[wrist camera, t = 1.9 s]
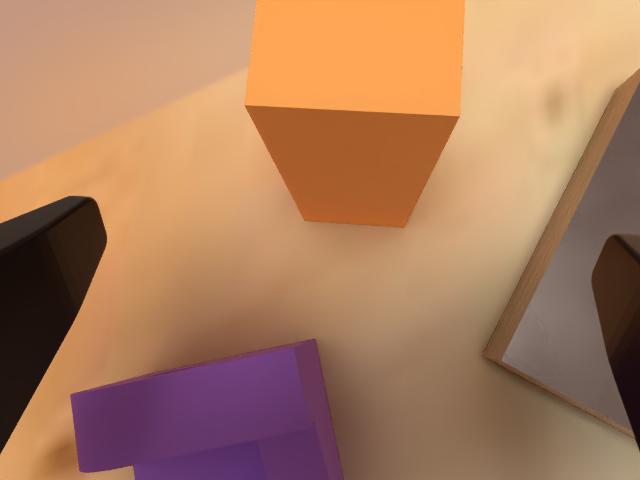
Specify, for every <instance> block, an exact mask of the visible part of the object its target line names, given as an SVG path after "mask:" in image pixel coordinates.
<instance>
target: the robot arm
mask: <svg viewBox="0 0 640 480" xmlns="http://www.w3.org/2000/svg"><path fill="white" fill-rule="evenodd" d="M106 244H107V234H106V230H105V227H104V224H103V220H102V217H101V214H100V210H99V207H98V204H97V202H96V201H95V200H94V199H93V198H91V197H85V196H68V197H65V198H63V199H60V200H58V201H55V202H53V203H50V204H48V205H45V206H43V207H40V208H38V209H35V210H33V211H30V212H28V213H25V214H23V215H20V216H18V217H15V218H13V219H10V220H8V221H5V222H3V223H0V454H1V452H2V450H3V448H4V447H5V445H6V443H7V441H8V439H9V438H10V436H11V434H12V432H13V430H14V429H15V427H16V425H17V423H18V421H19V420H20V418H21V416H22V414H23V412H24V411H25V409H26V407H27V405H28V403H29V402H30V400H31V398H32V396H33V394H34V393H35V391H36V389H37V387H38V385H39V384H40V382H41V380H42V378H43V376H44V374H45V373H46V371H47V369H48V367H49V365H50V364H51V362H52V360H53V358H54V356H55V355H56V353H57V351H58V349H59V347H60V346H61V344H62V342H63V340H64V338H65V337H66V335H67V333H68V331H69V329H70V328H71V326H72V324H73V322H74V320H75V318H76V316H77V314H78V312H79V310H80V308H81V306H82V303H83V301H84V299H85V296H86V294H87V291H88V289H89V286H90V284H91V282H92V279H93V277H94V274H95V272H96V270H97V267H98V265H99V262H100V260H101V257H102V255H103V253H104V250H105V248H106ZM591 285H592V290H593V295H594V299H595V304H596V308H597V313H598V318H599V322H600V327H601V331H602V336H603V341H604V345H605V350H606V354H607V358H608V362H609V365H610V368H611V371H612V374H613V377H614V380H615V383H616V385H617V388H618V391H619V394H620V397H621V400H622V402H623V405H624V408H625V411H626V414H627V417H628V420H629V422H630V425H631V428H632V431H633V434H634V437H635V439H636V442H637V445H638V448H639V451H640V236H639V235H633V234H618V233H615V234H612V235H610V236H609V237H608V238H607V239H606V241H605V243H604V246H603V248H602V250H601V252H600V255H599V257H598V259H597V262H596V264H595V266H594V269H593V271H592V276H591Z"/></svg>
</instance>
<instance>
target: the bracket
mask: <svg viewBox="0 0 640 480" xmlns="http://www.w3.org/2000/svg"><path fill="white" fill-rule="evenodd" d="M71 403H72V412H73V420H74V429H75V437H76V445H77V454H78V462H79V470H80V471H81V472H85V473H89V472H100V471H106V470H112V469H117V468H122V467H127V466H131V465H133V467H134V475H135V480H344V478H343V473H342V468H341V463H340V458H339V453H338V448H337V444H336V439H335V434H334V429H333V424H332V419H331V414H330V409H329V404H328V399H327V395H326V390H325V385H324V380H323V375H322V370H321V365H320V360H319V355H318V351H317V346H316V341H315V339H311V340H307V341H302V342H297V343H293V344H288V345H283V346H278V347H274V348H269V349H264V350H260V351H255V352H250V353H246V354H241V355H236V356H231V357H227V358H222V359H217V360H213V361H208V362H203V363H199V364H194V365H189V366H184V367H180V368H175V369H170V370H166V371H161V372H156V373H152V374H147V375H143V376H139V377H135V378H131V379H127V380H124V381H120V382H116V383H112V384H108V385H104V386H100V387H97V388H93V389H89V390H85V391H81V392H77V393H74V394H71Z"/></svg>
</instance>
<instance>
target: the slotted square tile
mask: <svg viewBox="0 0 640 480" xmlns="http://www.w3.org/2000/svg"><path fill="white" fill-rule="evenodd" d="M615 233H618V234H633V235H639V236H640V69H639V70H637V71H636V72H635V73H634V74H633V75H632V76H631V77H630V78H628V79H627V80H626V81H625V82H624V83H623V84H622V85H621V86H619V87H618V88H617V89H616V90H615V92H614V94H613V96H612V98H611V100H610V102H609V104H608V106H607V108H606V110H605V112H604V114H603V116H602V118H601V120H600V122H599V124H598V126H597V128H596V130H595V132H594V134H593V136H592V138H591V140H590V142H589V144H588V146H587V148H586V150H585V152H584V154H583V156H582V158H581V160H580V162H579V164H578V166H577V168H576V170H575V172H574V174H573V176H572V178H571V180H570V182H569V184H568V186H567V188H566V190H565V192H564V194H563V196H562V198H561V200H560V202H559V204H558V206H557V208H556V210H555V212H554V214H553V216H552V218H551V220H550V222H549V224H548V226H547V228H546V230H545V232H544V234H543V236H542V238H541V240H540V242H539V244H538V245H537V247H536V249H535V251H534V253H533V255H532V257H531V259H530V261H529V263H528V265H527V267H526V269H525V271H524V273H523V275H522V277H521V279H520V281H519V283H518V285H517V287H516V289H515V291H514V293H513V295H512V297H511V299H510V301H509V303H508V305H507V307H506V309H505V311H504V313H503V315H502V317H501V319H500V321H499V323H498V325H497V327H496V329H495V331H494V333H493V335H492V337H491V339H490V341H489V343H488V345H487V347H486V349H485V351H484V353H483V356H484V357H486V358H488V359H490V360H492V361H494V362H496V363H497V364H499V365H501V366H503V367H505V368H507V369H508V370H510V371H512V372H514V373H516V374H518V375H519V376H521V377H523V378H525V379H527V380H529V381H530V382H532V383H534V384H536V385H538V386H540V387H541V388H543V389H545V390H547V391H549V392H551V393H552V394H554V395H556V396H558V397H560V398H562V399H563V400H565V401H567V402H569V403H571V404H573V405H574V406H576V407H578V408H580V409H582V410H584V411H585V412H587V413H589V414H591V415H593V416H595V417H596V418H598V419H600V420H602V421H604V422H606V423H607V424H609V425H611V426H613V427H615V428H617V429H618V430H620V431H622V432H624V433H626V434H628V435H629V436H631V437H633V438H635V437H634V434H633V431H632V428H631V425H630V422H629V420H628V417H627V414H626V411H625V408H624V405H623V402H622V400H621V397H620V394H619V391H618V388H617V385H616V383H615V380H614V377H613V374H612V371H611V368H610V365H609V362H608V358H607V354H606V350H605V345H604V341H603V336H602V331H601V327H600V322H599V318H598V313H597V308H596V304H595V299H594V295H593V290H592V285H591V276H592V271H593V269H594V266H595V264H596V262H597V259H598V257H599V255H600V252H601V250H602V248H603V246H604V243H605V241H606V239H607V238H608V237H609V236H610V235H612V234H615Z"/></svg>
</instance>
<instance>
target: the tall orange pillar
mask: <svg viewBox="0 0 640 480" xmlns="http://www.w3.org/2000/svg"><path fill="white" fill-rule="evenodd" d="M464 13H465V0H257V3H256V11H255V20H254V29H253V38H252V46H251V54H250V63H249V71H248V80H247V89H246V97H245V107H246V109H247V111H248V113H249V115H250V117H251V118H252V120H253V122H254V124H255V126H256V128H257V130H258V132H259V134H260V136H261V138H262V140H263V141H264V143H265V145H266V147H267V149H268V151H269V153H270V155H271V157H272V159H273V161H274V163H275V164H276V166H277V168H278V170H279V172H280V174H281V176H282V178H283V180H284V182H285V184H286V186H287V187H288V189H289V191H290V193H291V195H292V197H293V199H294V201H295V203H296V205H297V207H298V209H299V210H300V212H301V214H302V216H303V218H304V220H305V221H319V222H333V223H347V224H361V225H375V226H389V227H403V228H404V226H405V224H406V222H407V220H408V218H409V216H410V215H411V213H412V211H413V209H414V207H415V205H416V203H417V201H418V199H419V197H420V195H421V193H422V191H423V189H424V187H425V185H426V183H427V181H428V179H429V177H430V175H431V173H432V171H433V169H434V167H435V165H436V163H437V161H438V159H439V157H440V155H441V153H442V151H443V149H444V147H445V145H446V143H447V141H448V139H449V137H450V135H451V133H452V131H453V129H454V127H455V125H456V123H457V121H458V119H459V117H460V100H461V78H462V56H463V34H464Z"/></svg>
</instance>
